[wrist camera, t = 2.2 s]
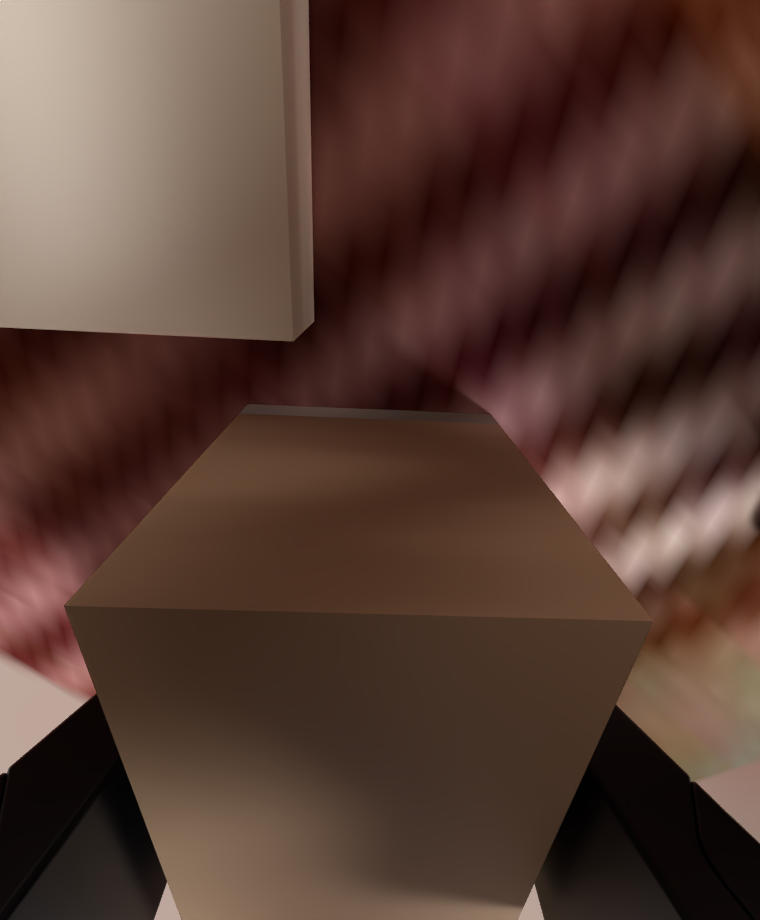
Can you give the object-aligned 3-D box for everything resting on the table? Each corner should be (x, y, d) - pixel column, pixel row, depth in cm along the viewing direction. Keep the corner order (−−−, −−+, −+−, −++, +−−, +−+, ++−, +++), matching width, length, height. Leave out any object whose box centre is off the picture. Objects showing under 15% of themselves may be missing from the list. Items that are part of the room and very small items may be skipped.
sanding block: (489, 412, 8) (654, 621, 3) (446, 667, 11) (499, 961, 6) (249, 403, 8) (63, 606, 3) (272, 664, 11) (197, 962, 6)
